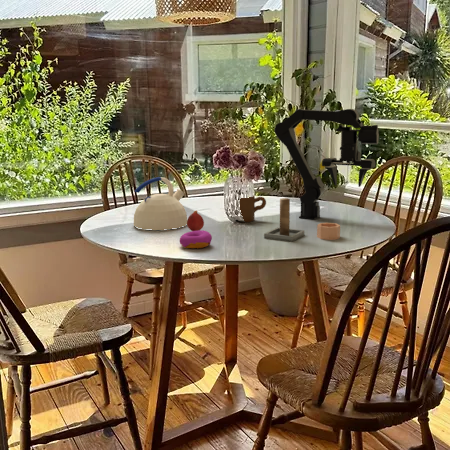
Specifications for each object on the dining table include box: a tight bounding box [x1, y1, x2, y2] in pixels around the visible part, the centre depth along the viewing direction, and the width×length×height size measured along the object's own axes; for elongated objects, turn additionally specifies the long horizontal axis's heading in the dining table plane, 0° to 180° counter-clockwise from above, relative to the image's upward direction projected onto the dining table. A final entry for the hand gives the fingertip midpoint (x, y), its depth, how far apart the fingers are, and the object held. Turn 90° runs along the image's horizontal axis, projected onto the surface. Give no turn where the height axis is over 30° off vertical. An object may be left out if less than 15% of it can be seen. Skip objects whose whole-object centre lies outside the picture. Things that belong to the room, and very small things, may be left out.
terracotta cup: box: [316, 222, 341, 241], centre depth 172 cm, size 7×7×4 cm
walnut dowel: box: [279, 197, 291, 236], centre depth 172 cm, size 3×3×12 cm
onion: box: [187, 210, 205, 232], centre depth 182 cm, size 6×6×8 cm
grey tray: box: [263, 227, 305, 243], centre depth 174 cm, size 10×10×2 cm
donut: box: [179, 229, 213, 249], centre depth 165 cm, size 10×10×4 cm
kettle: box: [133, 176, 188, 230], centre depth 194 cm, size 20×21×18 cm
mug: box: [240, 195, 267, 223], centre depth 200 cm, size 12×8×9 cm, turn 90°
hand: (347, 186), depth 197 cm, fingers open, 9 cm apart
